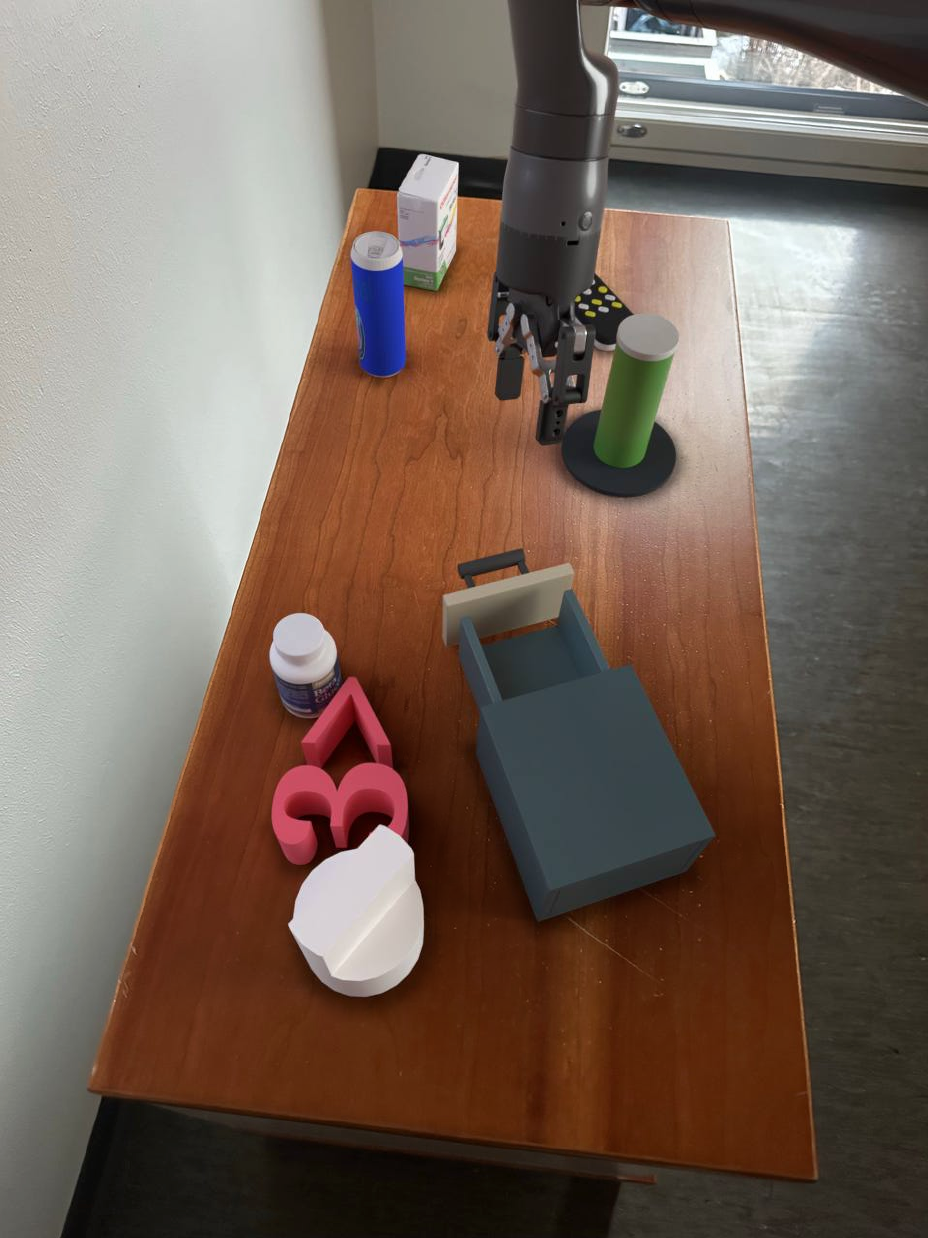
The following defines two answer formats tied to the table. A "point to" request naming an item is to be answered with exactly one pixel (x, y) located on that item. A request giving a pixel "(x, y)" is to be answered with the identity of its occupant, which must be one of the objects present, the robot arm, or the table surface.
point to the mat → (614, 479)
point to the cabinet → (588, 791)
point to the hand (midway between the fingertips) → (527, 419)
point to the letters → (358, 789)
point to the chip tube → (634, 388)
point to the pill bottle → (305, 665)
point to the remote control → (601, 313)
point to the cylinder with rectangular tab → (362, 916)
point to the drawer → (515, 606)
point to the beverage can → (379, 303)
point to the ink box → (428, 220)
